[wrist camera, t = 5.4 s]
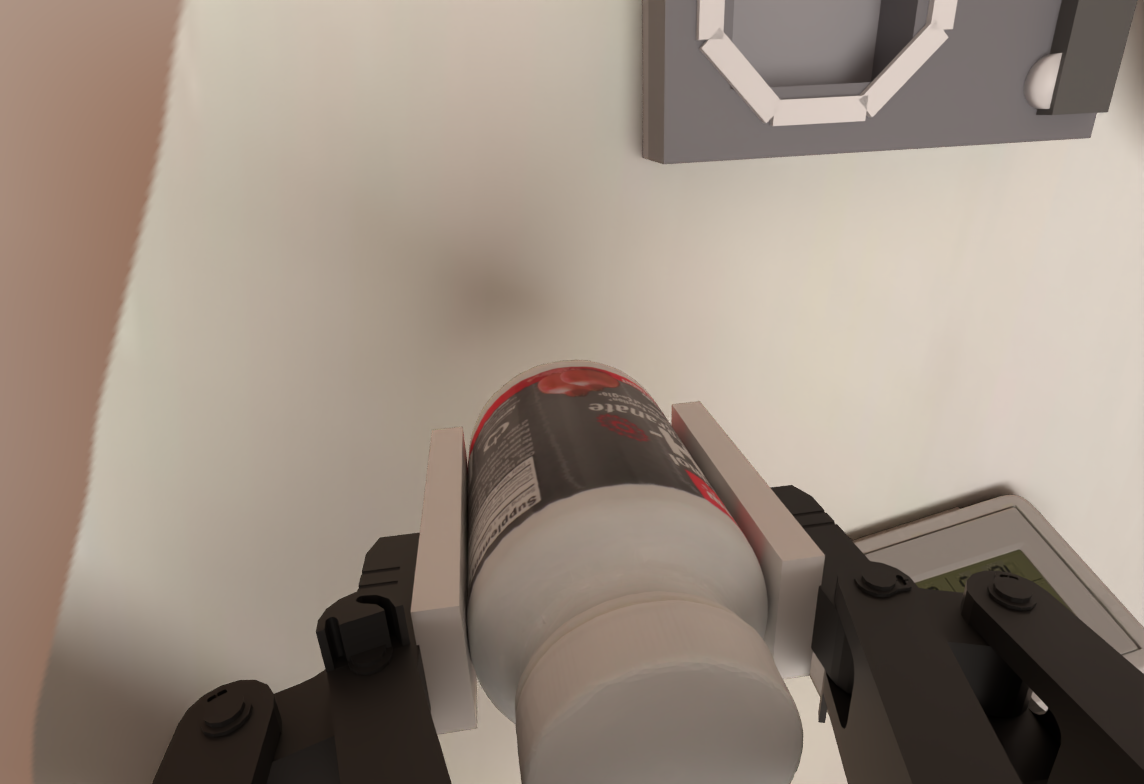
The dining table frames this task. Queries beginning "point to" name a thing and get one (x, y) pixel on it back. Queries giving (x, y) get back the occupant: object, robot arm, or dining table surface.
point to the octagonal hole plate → (872, 74)
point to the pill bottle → (616, 594)
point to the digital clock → (1002, 565)
